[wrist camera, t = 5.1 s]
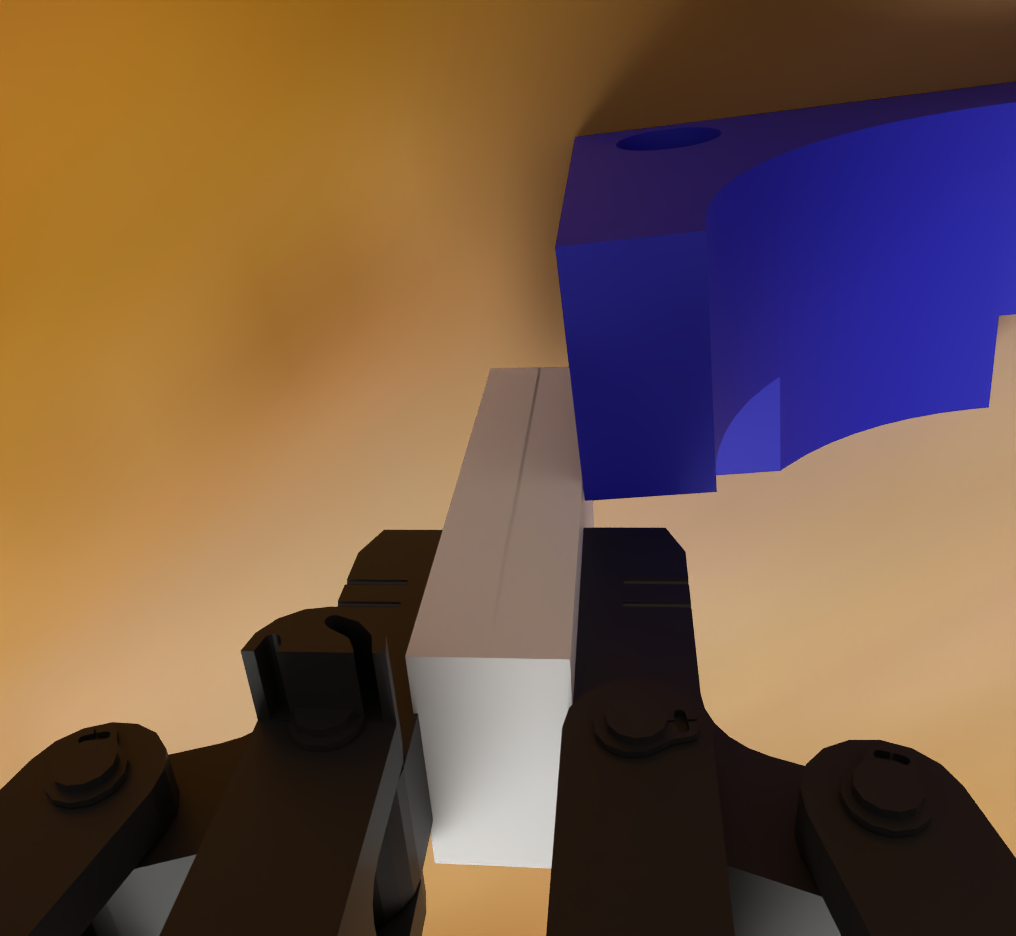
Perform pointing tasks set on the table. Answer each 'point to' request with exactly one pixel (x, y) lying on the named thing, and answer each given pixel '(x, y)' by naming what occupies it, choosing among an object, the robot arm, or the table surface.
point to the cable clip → (782, 282)
